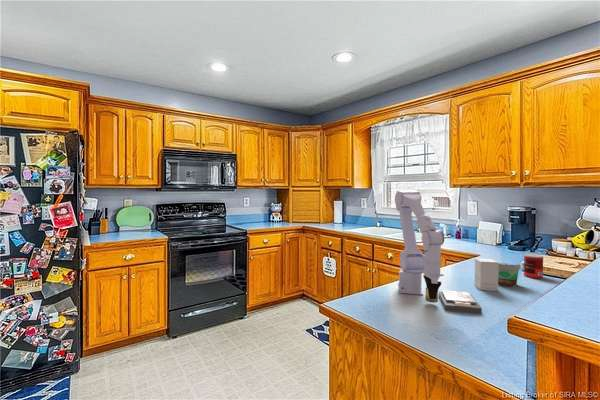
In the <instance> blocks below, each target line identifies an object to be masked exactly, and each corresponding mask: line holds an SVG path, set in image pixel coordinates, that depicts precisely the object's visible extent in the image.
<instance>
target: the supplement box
mask: <svg viewBox="0 0 600 400" xmlns="http://www.w3.org/2000/svg"><path fill="white" fill-rule="evenodd" d="M499 262H500V261H497V260H494V259H493V258H478V257H477V258H476V257H475V258H474V286H475V287H476V288H477V289H479V290H481V291H491V292H493V291H494V292H495V291H497V292H498V291H499V285H498V268H499V264H500V263H499Z"/></svg>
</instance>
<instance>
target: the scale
mask: <svg viewBox="0 0 600 400" xmlns="http://www.w3.org/2000/svg"><path fill="white" fill-rule="evenodd" d="M470 295H471V296H472V297H473V299H474V300H475V301H476V304H474V303H467V302H452V301H446V299H445V297H444V295H443V293H442V291H438V299H439V301H440V302H441V305H442V307H443V309H444V311H449V312H450V311H451V312H459V313H467V314H468V313H470V314H480V315H482V313H483V308H482V307H481V305H480V304H479V302H477V300H476V299H475V298H474V296H473V295H472V294H471V293H470Z"/></svg>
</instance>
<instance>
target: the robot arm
mask: <svg viewBox="0 0 600 400" xmlns="http://www.w3.org/2000/svg"><path fill="white" fill-rule="evenodd" d="M394 203H395V208H396V211H397V212H399V219H400V224H401V232H402V238H403V244H404V245H403V246H404V249H403V250H402V251H401V252H400V254H399V267H400V270H399V271H398V284H397V285H398V286H397V287H398V292H399V294H408V295H420V296H423V295H424V292H423V288H422V282H423V280H422V277H423V279H424V282H425V284H426V285H425V286H426V287H428V293H429V298H430V299H436V296H437V292H438V293H439V289H440V286H441V285H442V281H439V279H440V277H444V276H445V275H444V273H443V272H441V257H442V253H441V250H442V249H441V248H442V245H443V244H444V243H445V234H444V232H443V231H442V230H441V229H439V228H438V227H436V225H435V223H434V221H433V219H432V217H431V216H429V215H427V214H426V212H425V209H424V207H423V205H422V194H421V192H420V190H397V191H396V193H395V196H394ZM412 213H413V214H414V215H415V217H416V218H417V219H416V225H417V227H418V229H419V230H420V233H421V242H422V248H423V249H422V250H424V251H422V250H421V249H420V248H418V245H417V238H416V234H415V227H414V222H413V215H412ZM441 287H442V286H441Z"/></svg>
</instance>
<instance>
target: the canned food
mask: <svg viewBox="0 0 600 400" xmlns="http://www.w3.org/2000/svg"><path fill="white" fill-rule="evenodd" d="M523 257H524V258H523V260H524V261H523V275H524V277H526V278H528V279H529V278H530V279H533V280H534V279H536V280H537V279H538V280H541V279H542V278H543V275H544V272H543V271H544V255H542V254H539V253H538V254H537V253H524V256H523Z"/></svg>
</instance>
